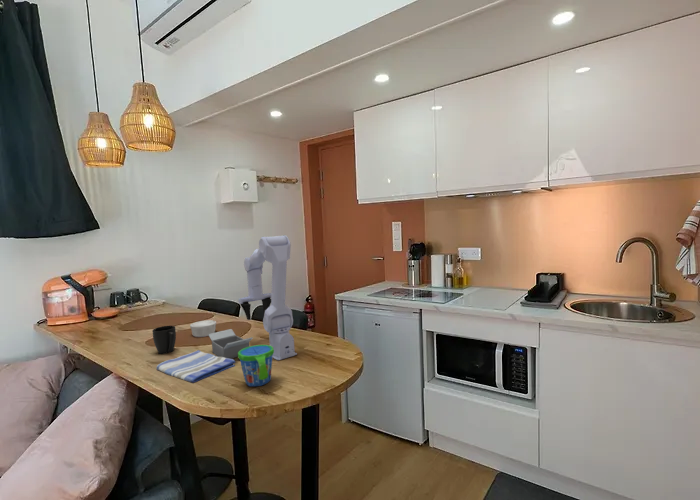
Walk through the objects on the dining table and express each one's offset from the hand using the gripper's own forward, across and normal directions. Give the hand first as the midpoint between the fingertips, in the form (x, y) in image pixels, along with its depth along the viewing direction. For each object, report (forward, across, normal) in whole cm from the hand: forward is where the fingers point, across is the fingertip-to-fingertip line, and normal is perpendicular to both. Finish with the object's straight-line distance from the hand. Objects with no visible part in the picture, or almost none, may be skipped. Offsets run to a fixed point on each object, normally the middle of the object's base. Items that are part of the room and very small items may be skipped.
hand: (257, 317), depth 154 cm
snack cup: (+10, +19, +39) cm, 45 cm away
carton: (+10, +14, +6) cm, 19 cm away
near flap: (+4, +14, +14) cm, 21 cm away
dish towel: (+11, +29, +11) cm, 33 cm away
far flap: (+4, +14, -2) cm, 15 cm away
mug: (+10, +32, -15) cm, 37 cm away
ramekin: (+10, +13, -30) cm, 34 cm away
